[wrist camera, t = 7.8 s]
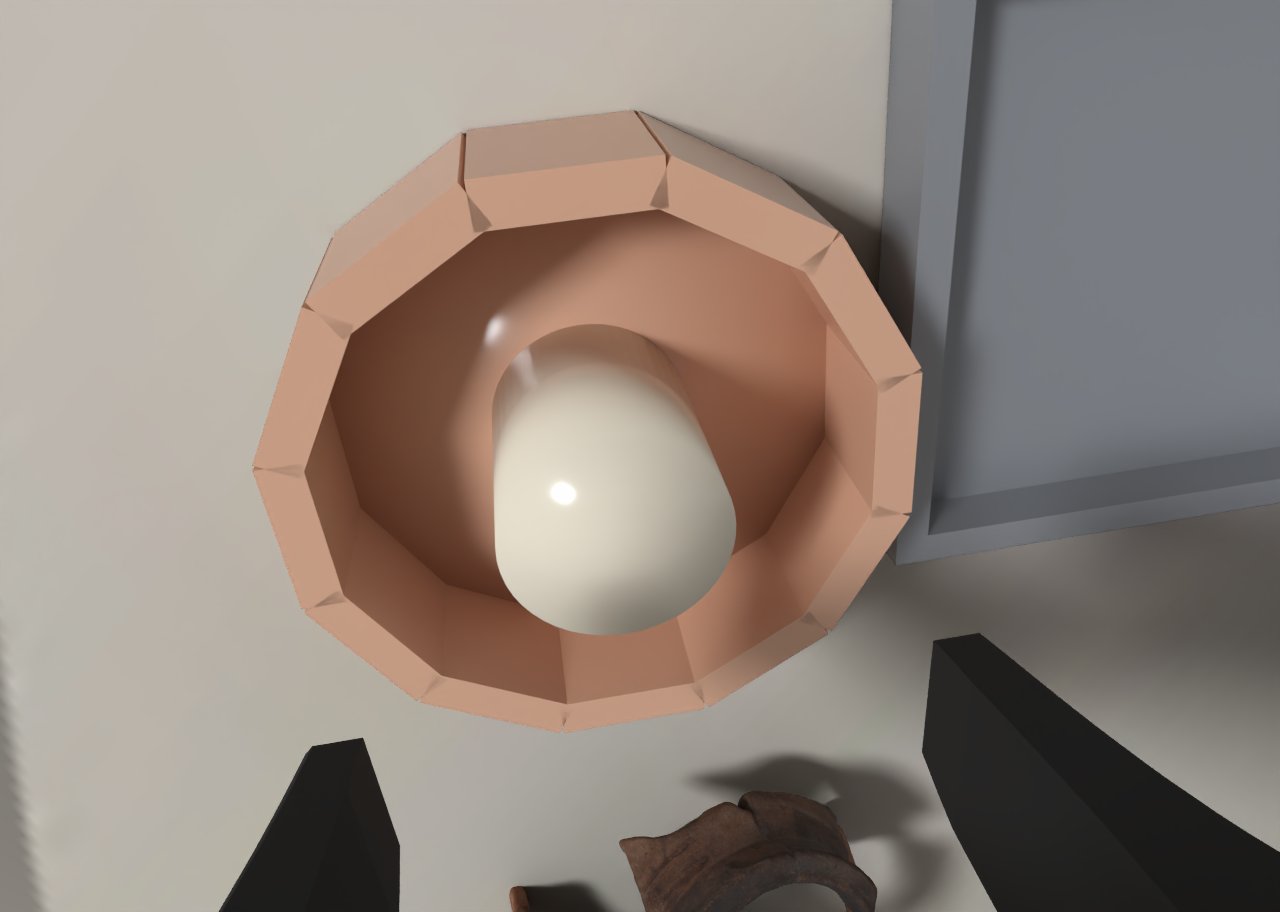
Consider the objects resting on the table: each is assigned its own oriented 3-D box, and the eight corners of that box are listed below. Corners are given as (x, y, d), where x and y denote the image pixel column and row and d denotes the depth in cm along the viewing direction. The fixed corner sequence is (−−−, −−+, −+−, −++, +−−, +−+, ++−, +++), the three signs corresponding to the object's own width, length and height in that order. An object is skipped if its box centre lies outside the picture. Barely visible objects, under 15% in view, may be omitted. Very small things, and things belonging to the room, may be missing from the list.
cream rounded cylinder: (679, 310, 18) (732, 418, 15) (690, 481, 21) (739, 615, 17) (475, 338, 18) (475, 456, 14) (508, 509, 20) (515, 651, 16)
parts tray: (1551, -140, 17) (1656, -143, 16) (1345, 444, 24) (1405, 482, 22) (896, -69, 16) (939, -66, 15) (867, 520, 23) (895, 565, 21)
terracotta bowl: (862, 82, 17) (942, 120, 14) (845, 576, 23) (898, 675, 20) (220, 159, 16) (163, 217, 13) (374, 653, 22) (357, 769, 19)
